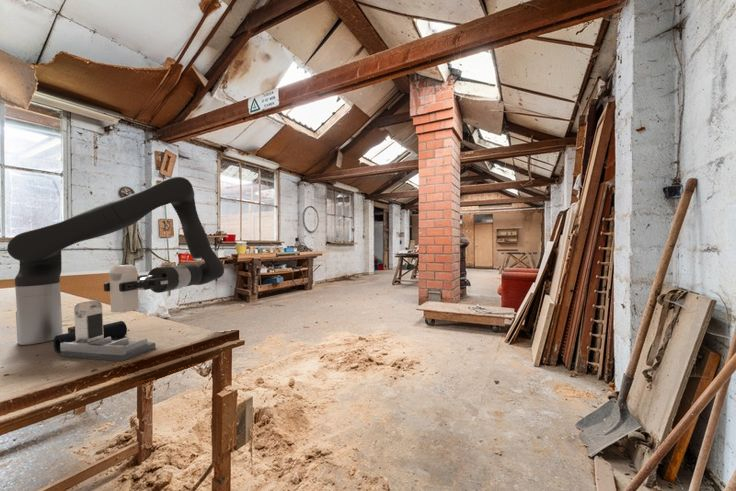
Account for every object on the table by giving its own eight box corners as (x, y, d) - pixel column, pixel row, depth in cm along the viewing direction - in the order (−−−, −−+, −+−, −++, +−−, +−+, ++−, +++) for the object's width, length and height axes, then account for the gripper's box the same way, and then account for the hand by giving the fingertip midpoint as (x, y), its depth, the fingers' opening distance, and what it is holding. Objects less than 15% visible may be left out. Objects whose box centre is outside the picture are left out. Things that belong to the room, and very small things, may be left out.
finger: (110, 312, 78) (108, 265, 77) (125, 308, 82) (123, 264, 81) (123, 312, 77) (121, 265, 76) (138, 308, 81) (136, 264, 80)
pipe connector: (41, 330, 84) (106, 317, 98) (42, 349, 85) (106, 333, 98) (62, 336, 80) (126, 321, 93) (63, 356, 80) (127, 338, 94)
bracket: (60, 356, 78) (58, 305, 78) (98, 344, 87) (96, 298, 86) (122, 361, 74) (119, 306, 73) (155, 347, 83) (153, 299, 82)
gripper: (150, 266, 94) (89, 272, 78) (189, 266, 91) (134, 272, 75) (151, 290, 94) (91, 301, 78) (190, 290, 92) (136, 302, 75)
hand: (112, 287), depth 76 cm, fingers closed on finger, 4 cm apart
